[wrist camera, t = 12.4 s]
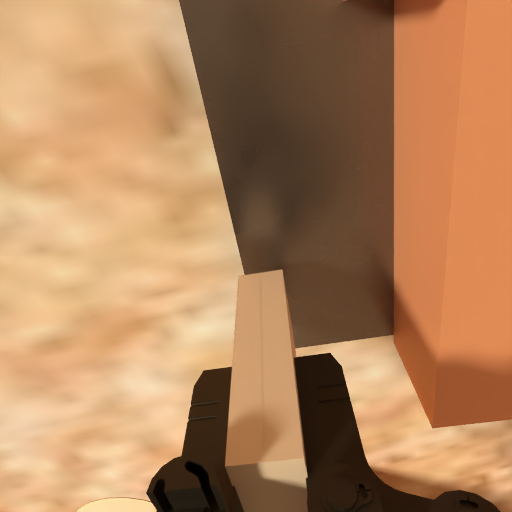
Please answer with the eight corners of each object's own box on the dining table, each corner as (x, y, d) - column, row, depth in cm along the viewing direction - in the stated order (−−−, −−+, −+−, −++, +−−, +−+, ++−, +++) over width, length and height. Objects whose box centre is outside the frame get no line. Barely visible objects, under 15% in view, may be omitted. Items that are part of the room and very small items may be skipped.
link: (318, -446, 7) (389, -974, 3) (733, -580, 6) (1376, -1408, 3) (362, 346, 16) (392, 432, 12) (526, 324, 15) (605, 408, 12)
